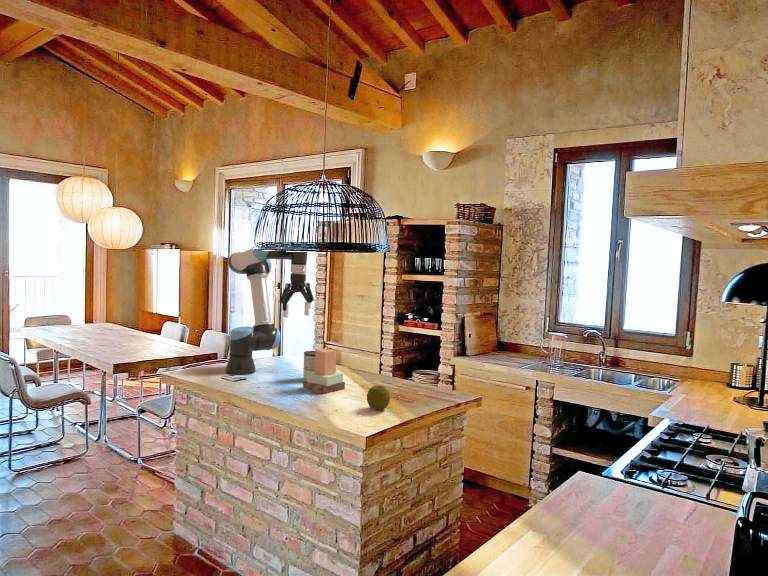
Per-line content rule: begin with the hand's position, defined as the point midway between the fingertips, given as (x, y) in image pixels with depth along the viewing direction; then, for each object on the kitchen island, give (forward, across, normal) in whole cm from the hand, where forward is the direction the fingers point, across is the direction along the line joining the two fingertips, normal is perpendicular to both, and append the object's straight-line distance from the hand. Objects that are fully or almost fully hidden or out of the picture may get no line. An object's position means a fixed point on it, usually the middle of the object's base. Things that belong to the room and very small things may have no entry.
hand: (296, 316), depth 280 cm
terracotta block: (+25, +3, -19) cm, 32 cm away
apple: (+31, -4, -60) cm, 67 cm away
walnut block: (+33, +2, -20) cm, 38 cm away
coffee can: (+33, +11, -3) cm, 35 cm away
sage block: (+29, +3, -20) cm, 35 cm away
